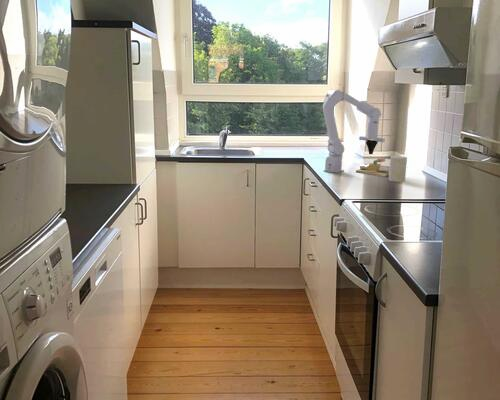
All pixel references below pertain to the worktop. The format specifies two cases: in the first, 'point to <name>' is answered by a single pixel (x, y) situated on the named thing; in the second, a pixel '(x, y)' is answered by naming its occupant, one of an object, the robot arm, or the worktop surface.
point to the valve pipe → (374, 168)
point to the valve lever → (379, 160)
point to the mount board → (372, 172)
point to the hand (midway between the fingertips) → (370, 154)
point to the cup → (397, 168)
